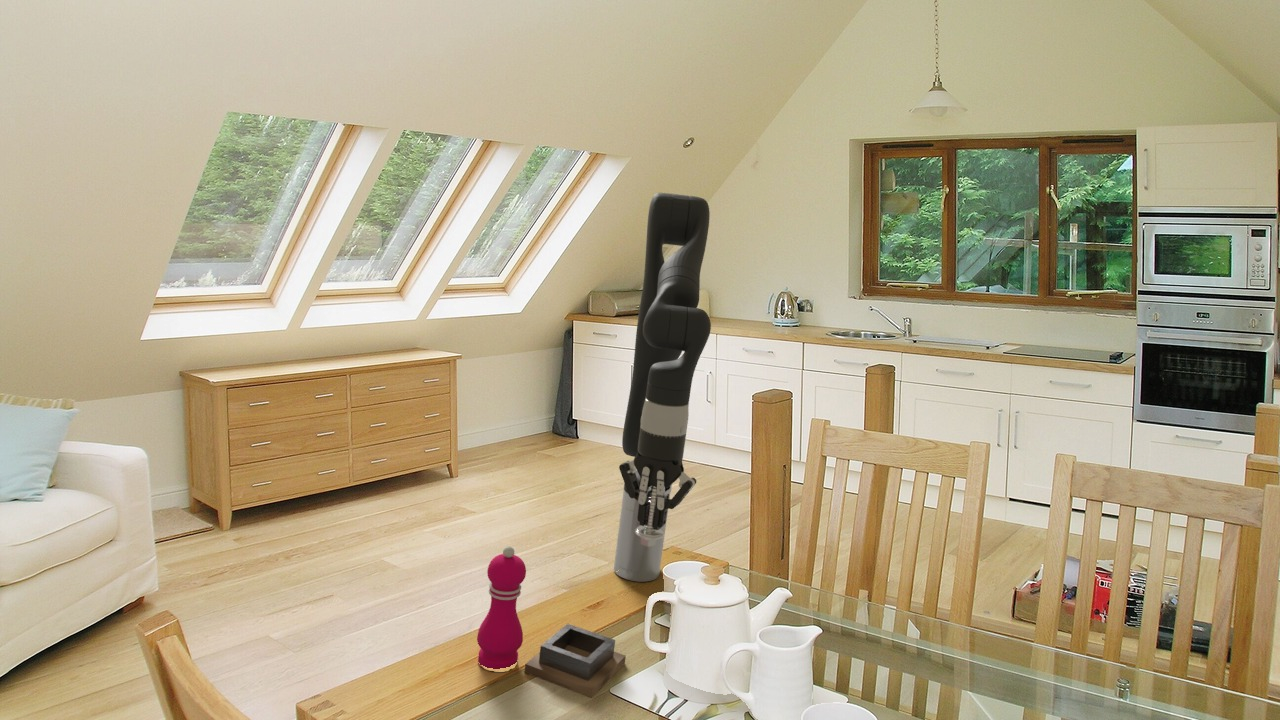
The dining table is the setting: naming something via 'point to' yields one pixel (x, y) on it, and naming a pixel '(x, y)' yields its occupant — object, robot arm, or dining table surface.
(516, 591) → the pepper mill
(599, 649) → the socket
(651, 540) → the screw
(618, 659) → the walnut board
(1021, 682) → the dining table surface
